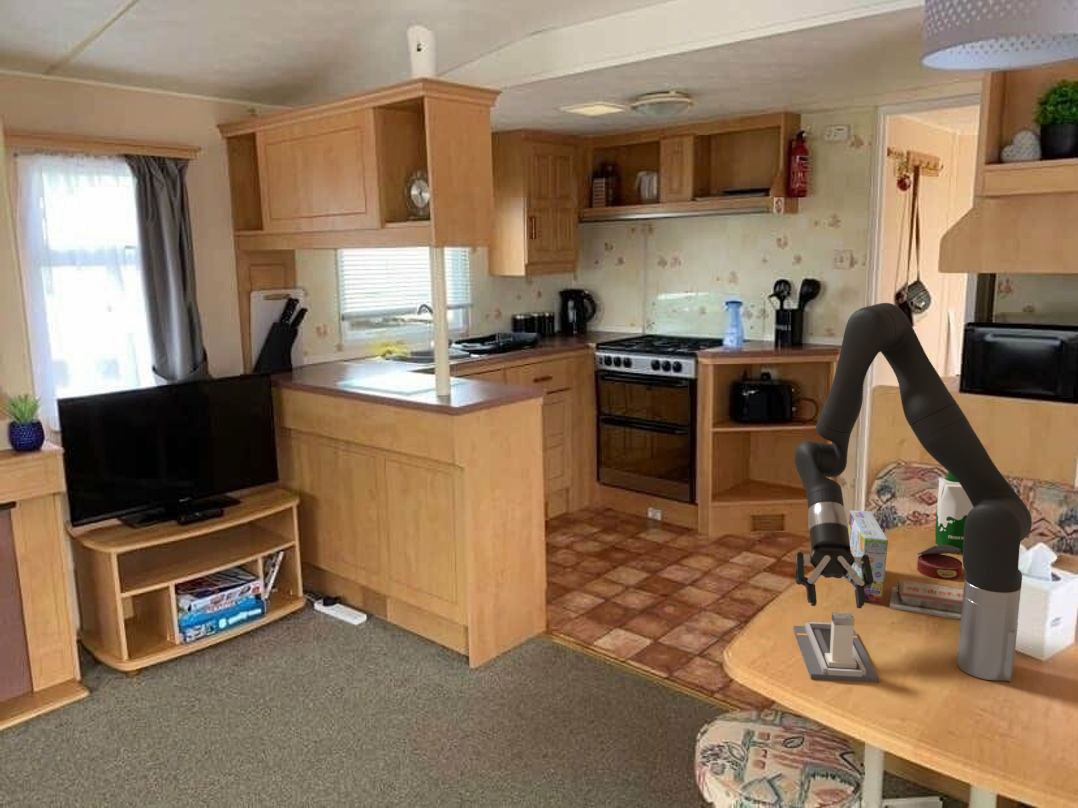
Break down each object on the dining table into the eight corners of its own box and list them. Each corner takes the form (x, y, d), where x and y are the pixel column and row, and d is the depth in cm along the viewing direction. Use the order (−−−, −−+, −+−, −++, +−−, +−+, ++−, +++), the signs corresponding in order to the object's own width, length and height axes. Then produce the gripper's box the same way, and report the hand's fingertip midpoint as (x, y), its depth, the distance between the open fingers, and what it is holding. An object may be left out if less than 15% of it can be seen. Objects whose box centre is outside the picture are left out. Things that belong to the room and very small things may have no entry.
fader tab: (851, 659, 158) (854, 612, 156) (856, 668, 155) (859, 620, 153) (824, 657, 159) (827, 610, 157) (828, 667, 155) (831, 619, 154)
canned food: (920, 592, 202) (901, 555, 203) (932, 576, 210) (914, 539, 210) (966, 583, 195) (946, 544, 195) (977, 566, 202) (958, 529, 202)
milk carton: (965, 543, 222) (971, 470, 218) (977, 555, 213) (984, 480, 209) (930, 541, 223) (936, 469, 220) (940, 553, 215) (946, 479, 211)
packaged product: (980, 586, 184) (983, 603, 175) (978, 606, 185) (981, 625, 176) (892, 573, 191) (890, 589, 182) (891, 593, 192) (888, 610, 183)
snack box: (885, 603, 186) (889, 539, 183) (858, 601, 187) (862, 538, 184) (867, 568, 206) (871, 509, 203) (843, 566, 207) (847, 508, 204)
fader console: (853, 632, 172) (853, 623, 172) (878, 682, 152) (879, 672, 152) (793, 630, 174) (793, 621, 173) (810, 678, 154) (811, 669, 154)
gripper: (794, 519, 167) (801, 597, 158) (869, 522, 165) (880, 600, 156) (789, 535, 173) (795, 611, 164) (861, 538, 171) (871, 614, 162)
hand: (837, 605), depth 160 cm, fingers open, 8 cm apart
